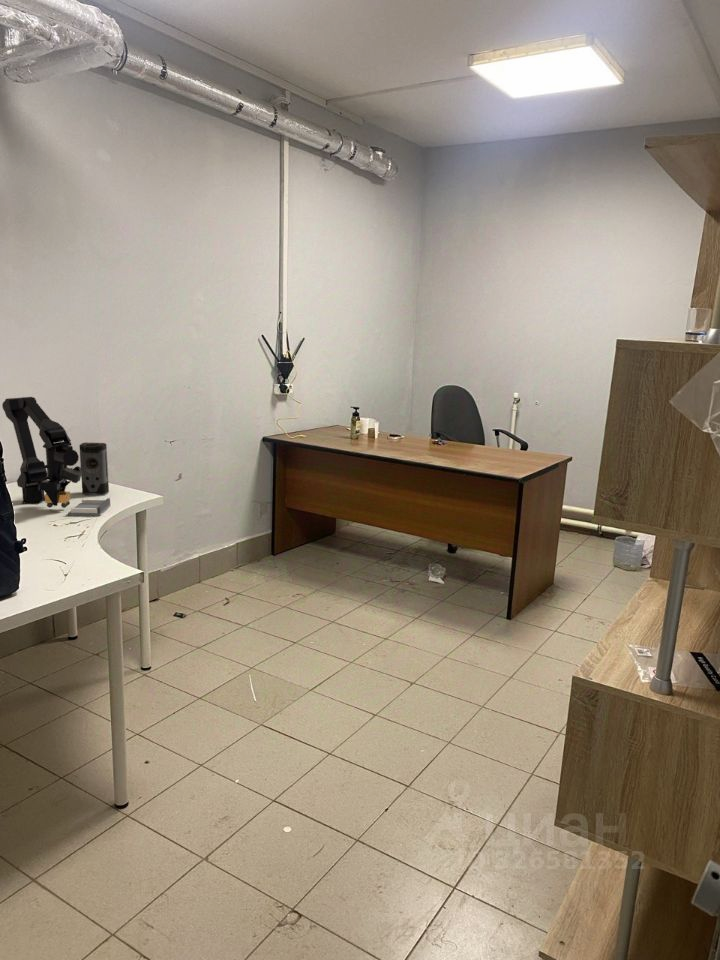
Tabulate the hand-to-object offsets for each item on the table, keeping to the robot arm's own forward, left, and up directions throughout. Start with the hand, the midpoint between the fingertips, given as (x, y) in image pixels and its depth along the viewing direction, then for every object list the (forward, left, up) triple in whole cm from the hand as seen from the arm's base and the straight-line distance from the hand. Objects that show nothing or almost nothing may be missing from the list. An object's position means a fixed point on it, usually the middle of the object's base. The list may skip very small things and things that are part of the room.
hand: (58, 503), depth 247 cm
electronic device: (+6, +24, -3) cm, 25 cm away
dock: (+11, 0, -2) cm, 11 cm away
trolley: (0, 0, -1) cm, 1 cm away
